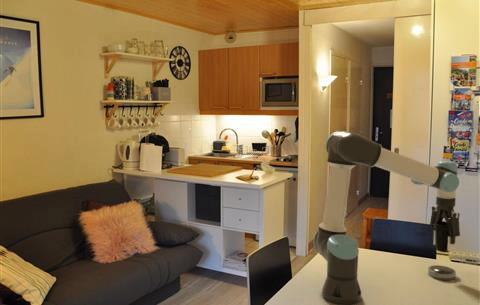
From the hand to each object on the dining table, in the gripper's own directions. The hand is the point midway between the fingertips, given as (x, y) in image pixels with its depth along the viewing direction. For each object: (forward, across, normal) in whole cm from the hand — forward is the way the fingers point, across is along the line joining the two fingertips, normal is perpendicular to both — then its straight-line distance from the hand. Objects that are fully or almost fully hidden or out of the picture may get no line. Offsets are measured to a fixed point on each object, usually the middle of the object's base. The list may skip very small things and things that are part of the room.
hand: (443, 247), depth 188 cm
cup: (+1, 0, 0) cm, 1 cm away
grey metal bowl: (+13, 0, 0) cm, 13 cm away
